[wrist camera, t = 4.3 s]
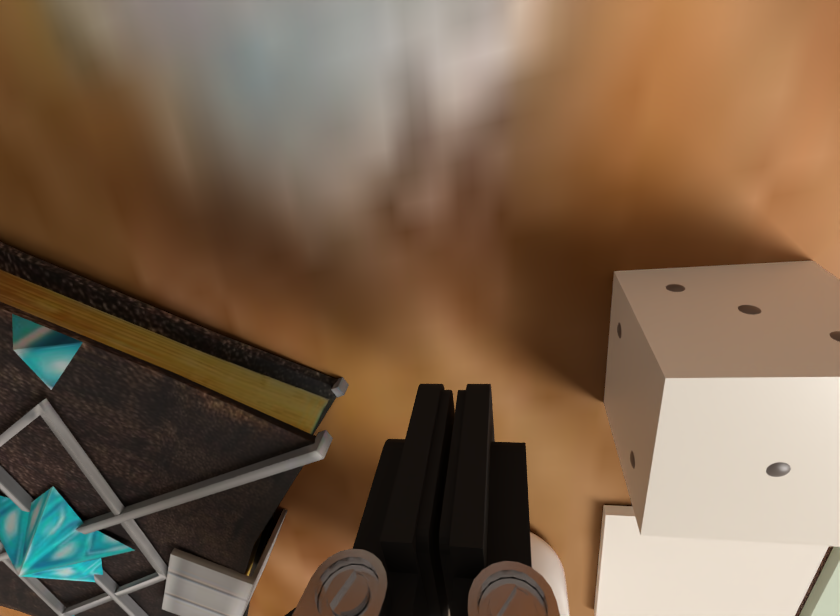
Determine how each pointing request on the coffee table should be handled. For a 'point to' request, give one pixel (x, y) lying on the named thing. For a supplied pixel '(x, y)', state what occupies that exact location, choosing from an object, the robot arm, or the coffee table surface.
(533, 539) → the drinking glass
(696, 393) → the die
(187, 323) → the book
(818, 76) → the coffee table surface
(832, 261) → the coffee table surface
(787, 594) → the squares
